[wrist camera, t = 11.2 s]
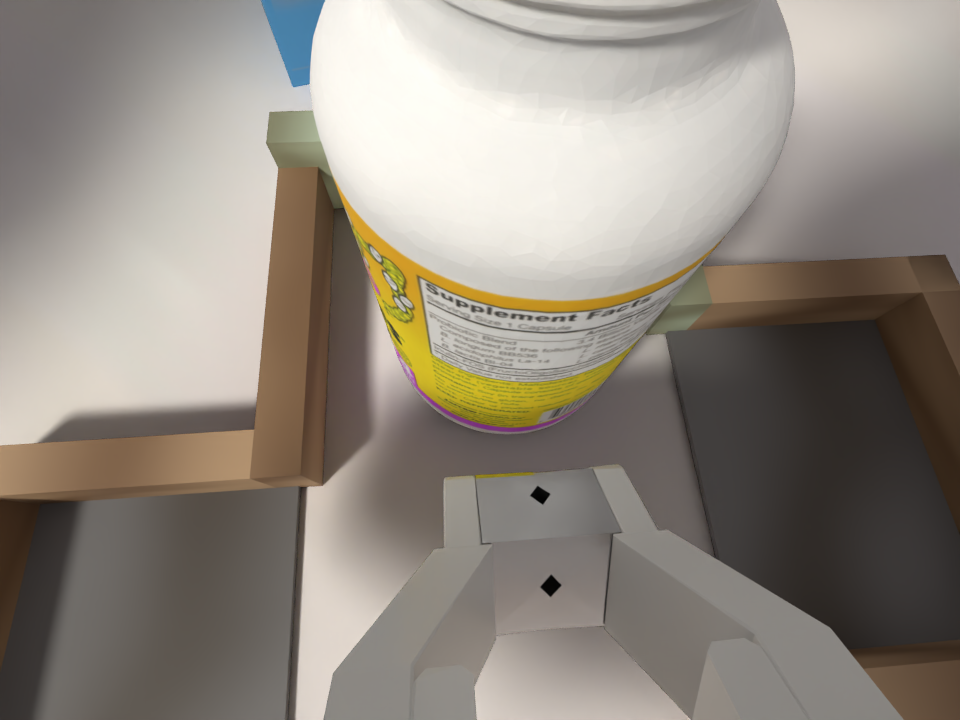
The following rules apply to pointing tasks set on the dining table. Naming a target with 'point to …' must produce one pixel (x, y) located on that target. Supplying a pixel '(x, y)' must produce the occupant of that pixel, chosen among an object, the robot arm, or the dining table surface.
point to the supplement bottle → (541, 177)
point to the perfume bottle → (294, 34)
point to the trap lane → (299, 463)
